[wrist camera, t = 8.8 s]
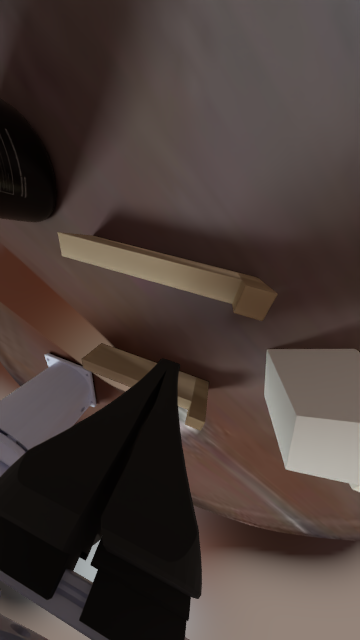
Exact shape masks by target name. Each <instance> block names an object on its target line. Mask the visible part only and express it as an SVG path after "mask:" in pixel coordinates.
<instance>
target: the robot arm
mask: <svg viewBox="0 0 360 640" xmlns="http://www.w3.org/2000/svg"><path fill="white" fill-rule="evenodd" d="M45 358H46V361H47V364H48V366H49V367H48V368H47V369H46V370H44V371H43V372H41V373H40V374H38V375H37V376H35V377H34V378H32V379H31V380H30V381H28V382H27V383H25V384H24V385H22V386H21V387H19V388H18V389H16V390H15V391H14V392H12V393H11V394H9V395H8V396H6V397H5V398H3V399H2V400H0V581H2V582H3V583H5V584H6V585H8V586H10V587H11V588H13V589H14V590H16V591H17V592H19V593H20V594H22V595H23V596H25V597H27V598H28V599H30V600H31V601H33V602H34V603H36V604H37V605H39V606H40V607H42V608H44V609H45V610H47V611H48V612H50V613H51V614H53V615H55V616H56V617H57V618H59V619H61V620H62V621H64V622H65V623H67V624H68V625H70V626H71V627H73V628H74V629H76V630H77V631H79V632H81V633H82V634H84V635H85V636H87V637H88V638H90V639H91V640H189V639H187V638H186V637H185V630H186V620H187V621H188V619H189V611H190V599H191V597H193V598H196V599H199V597H200V596H201V587H202V569H201V552H200V542H199V530H198V525H197V521H196V516H195V512H194V507H193V502H192V498H191V493H190V488H189V483H188V478H187V472H186V467H185V460H184V454H183V448H182V442H181V434H180V425H179V414H178V376H179V369H180V364H178V363H175V362H172V361H169V360H166V359H164V358H162V359H161V360H160V361H159V362H158V363H157V364H156V365H155V366H154V367H153V368H152V369H151V370H150V371H149V372H148V373H147V374H146V375H145V376H144V377H143V378H142V379H141V380H140V381H138V382H137V383H136V384H135V385H134V386H132V387H131V388H130V389H129V390H127V391H126V392H125V393H123V394H122V395H121V396H119V397H118V398H117V399H115V400H114V401H112V402H111V403H110V404H108V405H107V406H105V407H103V408H102V409H100V410H99V411H97V412H96V413H94V414H93V415H91V416H89V417H88V418H86V419H84V420H82V421H81V422H79V423H77V424H76V425H74V424H75V423H76V421H77V420H78V419H79V418H80V417H81V415H82V414H83V413H84V412H85V411H86V410H87V408H88V407H89V406H92V407H95V406H96V399H95V392H94V385H93V379H92V372H91V371H89V370H86V369H84V368H83V367H82V366H80V365H77V364H75V363H72V362H70V361H67V360H65V359H62V358H60V357H57V356H54V355H52V354H49V353H47V354H45ZM73 425H74V426H73ZM100 539H101V540H100ZM99 540H100V542H99V545H98V547H97V550H96V552H95V554H94V557H93V559H92V562H91V566H93V567H95V568H96V569H98V571H97V574H96V577H95V579H94V582H91V581H89V580H87V579H86V578H84V577H82V576H81V575H79V574H77V573H76V572H74V571H73V570H74V568H75V565H76V563H77V561H78V559H79V557H80V558H82V559H84V560H86V559H87V557H88V554H89V552H90V550H91V547H92V546H93V545H94V544H95V543H97V542H98V541H99ZM1 593H2V591H1V590H0V597H1ZM0 640H48V639H46V638H45V637H43V636H41V635H39V634H37V633H36V632H34V631H32V630H30V629H28V628H26V627H24V626H22V625H20V624H19V623H17V622H15V621H13V620H11V619H9V618H7V617H5V616H3V615H1V614H0Z"/></svg>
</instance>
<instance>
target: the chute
mask: <svg viewBox="0 0 360 640" xmlns="http://www.w3.org/2000/svg"><path fill="white" fill-rule="evenodd" d="M58 237H59V242H60V247H61V253H62V256H64V257H68V258H71V259H75V260H79V261H82V262H86V263H89V264H93V265H96V266H100V267H103V268H107V269H110V270H114V271H117V272H121V273H125V274H128V275H132V276H135V277H139V278H142V279H146V280H149V281H153V282H156V283H160V284H163V285H167V286H170V287H174V288H178V289H181V290H185V291H188V292H192V293H195V294H199V295H202V296H206V297H209V298H213V299H216V300H220V301H224V302H227V303H231V304H232V306H233V312H234V313H236V314H240V315H243V316H247V317H250V318H253V319H257V320H260V321H263V319H264V317H265V316H266V314H267V312H268V310H269V309H270V307H271V305H272V303H273V302H274V300H275V298H276V296H277V295H278V294H277V293H276V292H275V291H274V290H272V289H271V288H270V287H269V286H267V285H266V284H265V283H264V282H263V281H261V280H260V279H259V278H258V277H254V276H250V275H246V274H242V273H238V272H234V271H230V270H226V269H222V268H218V267H214V266H210V265H206V264H202V263H199V262H195V261H191V260H187V259H183V258H179V257H175V256H171V255H167V254H163V253H159V252H155V251H151V250H147V249H143V248H139V247H135V246H131V245H127V244H123V243H119V242H115V241H111V240H108V239H104V238H100V237H96V236H91V235H81V234H70V233H60V232H58ZM82 364H83V368H84V369H86V370H89V371H91V372H94V373H96V374H99V375H101V376H104V377H106V378H109V379H111V380H114V381H117V382H119V383H121V384H124V385H127V386H129V387H132V386H134V385H135V384H136V383H137V382H138V381H140V380H141V379H142V378H143V377H144V376H145V375H146V374H147V373H148V372H149V371H150V370H151V369H152V368H153V367H154V366H155V365H156V364H157V363H155V362H152V361H150V360H147V359H144V358H141V357H139V356H136V355H133V354H130V353H127V352H125V351H122V350H119V349H116V348H114V347H111V346H108V345H105V344H103V343H101V344H100V345H99V346H97V347H96V348H95V349H94V350H92V351H91V352H90V353H89V354H87V355H86V356H85V357H84V358H82ZM208 386H209V382H208V381H205V380H202V379H199V378H197V377H194V376H191V375H188V374H186V373H183V372H180V371H179V376H178V406H180V407H182V408H185V409H187V410H188V412H187V417H186V422H185V425H188V426H190V427H193V428H195V429H198V430H201V429H202V427H203V425H204V423H205V417H206V407H207V396H208Z"/></svg>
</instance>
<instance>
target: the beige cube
mask: <svg viewBox="0 0 360 640" xmlns="http://www.w3.org/2000/svg"><path fill="white" fill-rule="evenodd" d="M264 396H265V399H266V403H267V406H268V410H269V413H270V416H271V420H272V423H273V427H274V430H275V434H276V437H277V441H278V444H279V447H280V451H281V454H282V458H283V461H284V465H285V468H286V470H291V471H295V472H300V473H305V474H309V475H314V476H318V477H323V478H327V479H332V480H337V481H341V482H346V483H350V484H355V485H359V486H360V352H359V351H357V350H356V349H267V356H266V373H265V391H264Z"/></svg>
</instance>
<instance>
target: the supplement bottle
mask: <svg viewBox="0 0 360 640" xmlns="http://www.w3.org/2000/svg"><path fill="white" fill-rule="evenodd" d="M55 202H56V182H55V177H54V172H53V168H52V165H51V162H50V159H49V157H48V154H47V152H46V150H45V148H44V146H43V144H42V142H41V140H40V138H39V137H38V135H37V134H36V132H35V131H34V129H33V128H32V127H31V125H30V124H29V123H28V122H27V120H26V119H25V118H24V117H23V116H22V115H21V114H20V113H19V112H18V111H17V110H16V109H15V108H13V107H12V106H11V105H9V104H8V103H7V102H5V101H4V100H2V99H1V98H0V218H2V219H9V220H17V221H26V222H40V221H43V220H45V219H46V218H48V217H49V216H50V214H51V213H52V211H53V209H54V206H55Z"/></svg>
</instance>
